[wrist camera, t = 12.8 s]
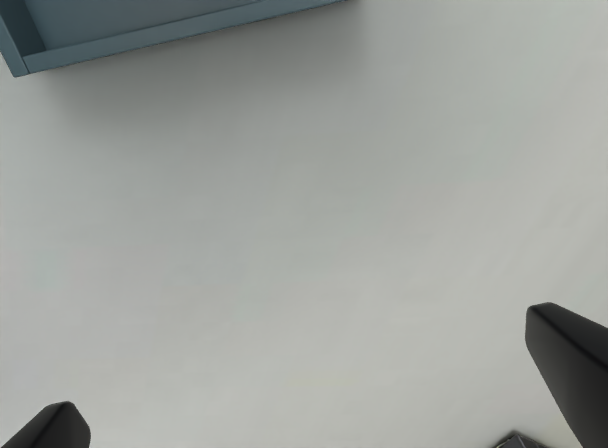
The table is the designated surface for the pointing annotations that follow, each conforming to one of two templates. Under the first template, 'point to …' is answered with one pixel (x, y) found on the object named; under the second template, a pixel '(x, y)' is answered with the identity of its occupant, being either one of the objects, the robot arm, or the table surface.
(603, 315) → the table surface
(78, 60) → the tray
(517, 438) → the disk drive
